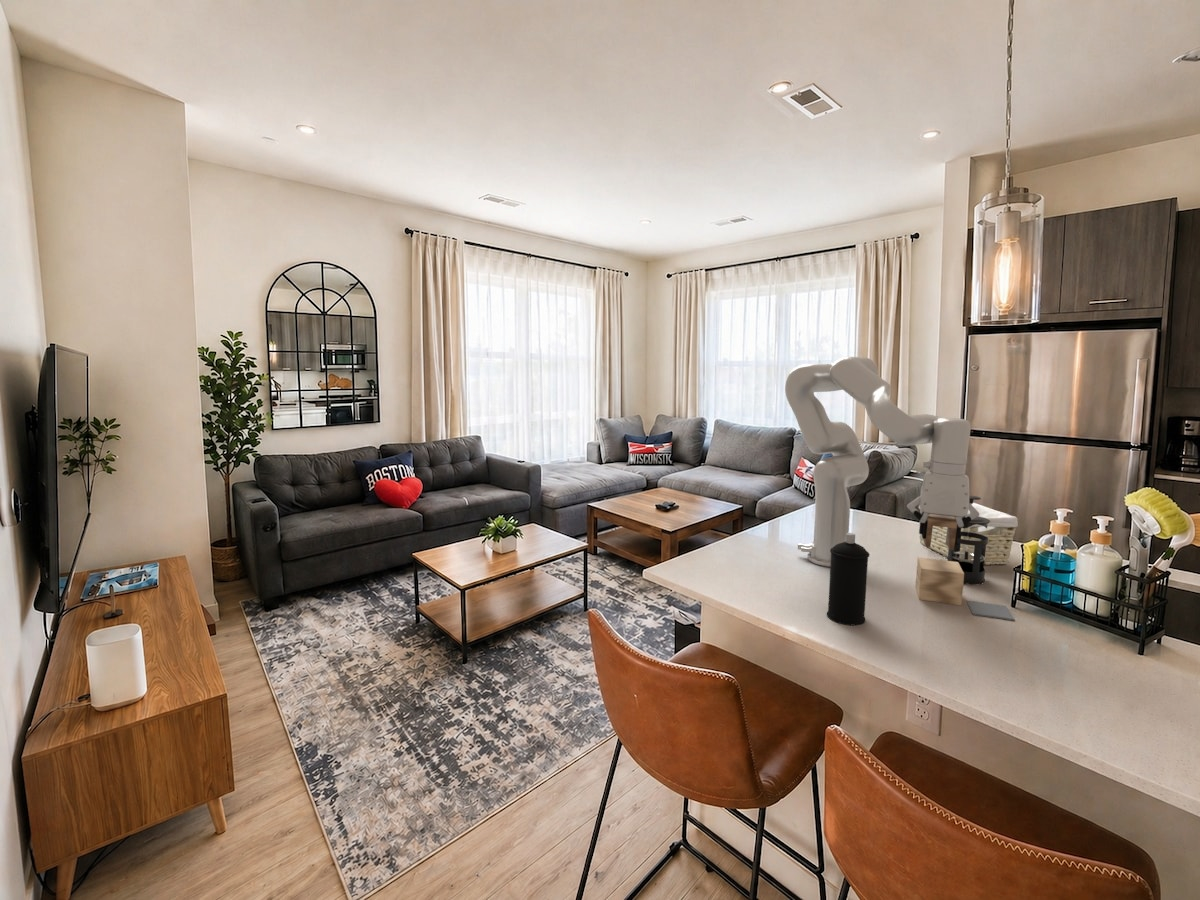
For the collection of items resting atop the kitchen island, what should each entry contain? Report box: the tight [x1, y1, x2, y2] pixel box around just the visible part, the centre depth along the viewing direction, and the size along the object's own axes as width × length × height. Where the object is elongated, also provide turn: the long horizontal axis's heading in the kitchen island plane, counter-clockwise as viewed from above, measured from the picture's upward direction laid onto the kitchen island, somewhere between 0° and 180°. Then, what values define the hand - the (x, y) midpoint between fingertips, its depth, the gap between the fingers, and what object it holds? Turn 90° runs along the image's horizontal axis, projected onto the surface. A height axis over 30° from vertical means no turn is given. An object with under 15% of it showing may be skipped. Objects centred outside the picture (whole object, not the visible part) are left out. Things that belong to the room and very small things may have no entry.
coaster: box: [966, 599, 1016, 622], centre depth 131 cm, size 8×8×1 cm
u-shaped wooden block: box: [923, 514, 957, 550], centre depth 138 cm, size 6×6×7 cm
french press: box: [947, 494, 990, 585], centre depth 150 cm, size 12×9×23 cm
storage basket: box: [918, 502, 1019, 566], centre depth 171 cm, size 24×16×15 cm
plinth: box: [915, 556, 964, 606], centre depth 140 cm, size 9×9×8 cm
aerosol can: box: [826, 532, 870, 626], centre depth 127 cm, size 8×8×20 cm
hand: (938, 538), depth 139 cm, fingers closed on u-shaped wooden block, 6 cm apart
